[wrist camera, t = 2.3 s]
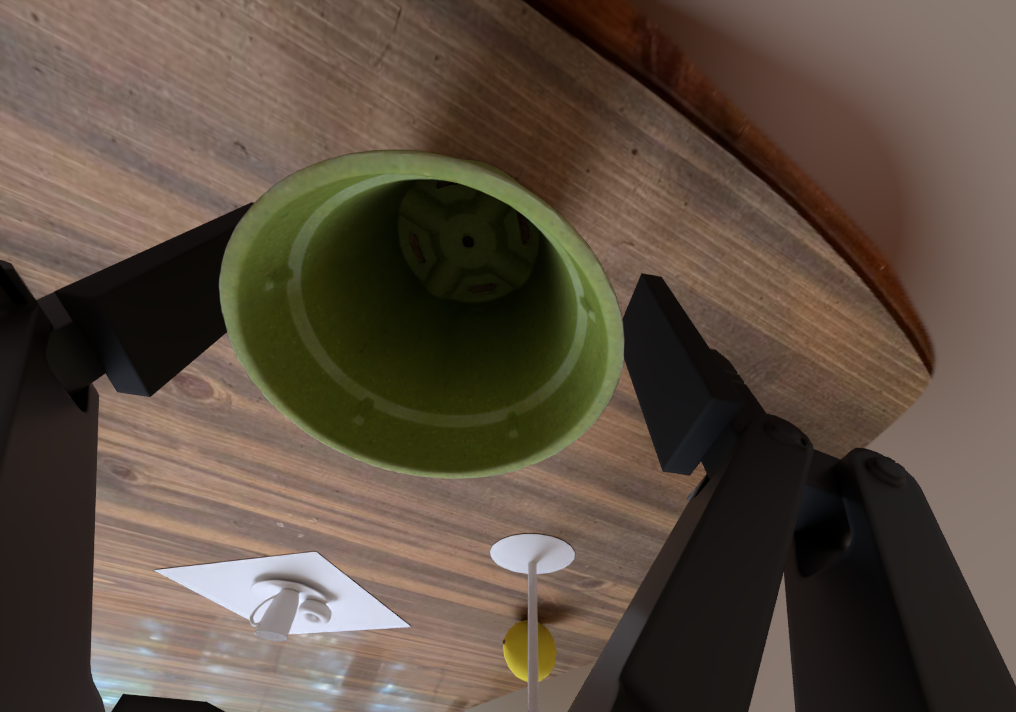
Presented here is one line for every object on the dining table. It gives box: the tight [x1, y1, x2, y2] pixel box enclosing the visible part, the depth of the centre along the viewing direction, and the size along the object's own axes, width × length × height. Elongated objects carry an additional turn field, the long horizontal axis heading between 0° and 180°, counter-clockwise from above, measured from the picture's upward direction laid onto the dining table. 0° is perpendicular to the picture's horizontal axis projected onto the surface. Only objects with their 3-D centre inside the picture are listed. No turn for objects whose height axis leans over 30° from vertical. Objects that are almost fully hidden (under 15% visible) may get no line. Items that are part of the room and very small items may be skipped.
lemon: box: [503, 620, 557, 682], centre depth 41 cm, size 7×5×5 cm
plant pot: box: [219, 150, 624, 479], centre depth 12 cm, size 9×9×9 cm
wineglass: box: [490, 534, 575, 712], centre depth 25 cm, size 8×9×20 cm
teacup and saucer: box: [249, 579, 333, 641], centre depth 39 cm, size 9×8×4 cm
